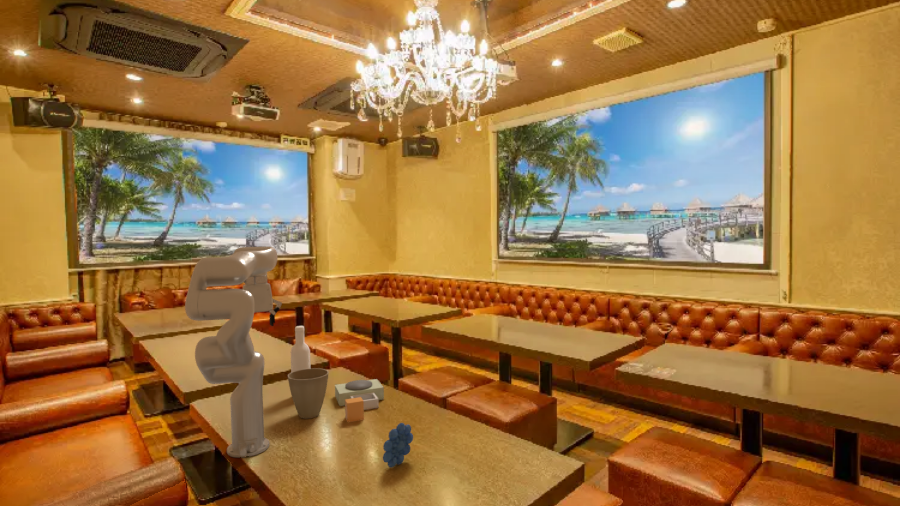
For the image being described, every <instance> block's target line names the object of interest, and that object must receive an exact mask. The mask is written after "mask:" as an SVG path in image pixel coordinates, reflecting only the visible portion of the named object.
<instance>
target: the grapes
mask: <svg viewBox="0 0 900 506" xmlns="http://www.w3.org/2000/svg"><path fill="white" fill-rule="evenodd" d="M388 438H389V439H387V440H386V441H385V442H384V443H383V451H384V453H383V456H382V460H383V462H384V463H387V466H388V468H394V467H395V466H396V465H398V466H399V465H401V464H402V463H403V462H404V460H405V456H407V455H409V453H410V451H411V445H410V444H411V443H413V440H414V435H413V433H412V427H411V425H410V424H405V423H404V422H399V423H398V424H397V426H396V428H393V429H391V430H389V432H388Z"/></svg>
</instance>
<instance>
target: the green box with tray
mask: <svg viewBox="0 0 900 506" xmlns="http://www.w3.org/2000/svg"><path fill="white" fill-rule="evenodd" d="M334 397H335V399H336V401H337V403H338V406H339V407H343V406H344V407H345V399H351V398H358V397H361V398H362V399H363V402H364V411H365V410H371V409H378V408H379V406H380V405H379V403H380V402H379V401H380V400H382V401H383V400H385V390H384V386H383V385H382V384H381V382H380V380H378V379H377V378H376V379H375V378H374V379H373V378H372V379H367V380H366V379H358V380H357V379H356V380H352V381H349V382H346V383H340V384H339V383H338V384H334Z"/></svg>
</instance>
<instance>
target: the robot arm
mask: <svg viewBox="0 0 900 506" xmlns="http://www.w3.org/2000/svg"><path fill="white" fill-rule="evenodd" d="M277 263H278V252H277V250H276V248H274V247H273V246H241V247H237V248H236V249H235V250H234V252H233V253H232V254H231V255H229V256H223V257H222V256H219V257H217V256H216V257H203V258H201V259H199V260H198V261H197V262H196V264H195V266H194V268H193V271H192V274H191V277H190V281H189V284H188V289H187V294H186V297H185V303H184V304H185V305H184V311H185V314H186V316H187V317H188V318H189V319H190V320H193V321H198V322H199V321H200V322H201V321H218V320H227V321H226V322H225V323H223V325H222V326H221V327H220V328H219V329H218V331H217V333H216V334H215V335H211V336H210V335H209V336H204V337H203V338H201V339H200V340H198V342H197V343H196V346H195V351H194V358H195V359H194V361H195V363H196V366H197V368H198V369H199V372H200V373H201V375H202V376H203V378H204V379H205V381H206V382H207V383H208V384H211V385H217V384H218V385H219V384H220V385H221V384H238V385H237V386H236V388H234V390H233V391H232V392H231V395H230V399H229V400H230V401H229V402H230V403H229V404H230V426H231V444H229V445H228V446H227V448H226V453H227V455H228V456H230V457H232V458H239V459H240V457H241V458H246V457H245V456H249V457H253V456H257V455H259V454H261V453H263V452H265V451H266V450H267V449H268V448H269V447H270V440H269V439H268V438H266V437H265V426H264V425H265V422H264V419H265V418H264V400H263V399H264V398H263V397H264V396H263V395H264V394H263V392H264V391H263V390H264V389H263V388H264V387H263V384H264V383H263V382H264V380H263V379H264V372H265V371H264V370H265V364H266V363H265V358H264V355H263V354H262V353H261V352H260V351H256V350H255V346H254V343H253V341H252V338H251V335H250V331H251V328H252V325H253V321H254V314H255V313H263V312H269V313H270V314H269V325H270V326H271V327H274V324H275V323H276V315H277V313H278V312H279V311H280V309H281V306H282V304H283V303H282V301H279V300H276V299H275V298H273V293H272V287H271V284H270V283H268V272H271V271H273V270H274V269H275V267H276V266H277ZM242 283H243V286H242V288H216V289H215V288H213V289H207V288H208V287H225V286H226V287H227V286H228V287H229V286H237V285H241V284H242ZM274 304H275V305H276V306H275V307H274Z"/></svg>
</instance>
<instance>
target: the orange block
mask: <svg viewBox="0 0 900 506" xmlns="http://www.w3.org/2000/svg"><path fill="white" fill-rule="evenodd" d="M344 413H345V416H344V418H345V420H346V422H347V423H350V422H351V423H352V422H358V421H363V420H365V410H364V402H363V399H362V398H361V397H358V398H351V399H345V405H344Z"/></svg>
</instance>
